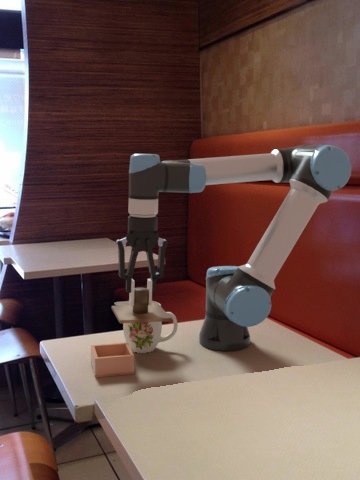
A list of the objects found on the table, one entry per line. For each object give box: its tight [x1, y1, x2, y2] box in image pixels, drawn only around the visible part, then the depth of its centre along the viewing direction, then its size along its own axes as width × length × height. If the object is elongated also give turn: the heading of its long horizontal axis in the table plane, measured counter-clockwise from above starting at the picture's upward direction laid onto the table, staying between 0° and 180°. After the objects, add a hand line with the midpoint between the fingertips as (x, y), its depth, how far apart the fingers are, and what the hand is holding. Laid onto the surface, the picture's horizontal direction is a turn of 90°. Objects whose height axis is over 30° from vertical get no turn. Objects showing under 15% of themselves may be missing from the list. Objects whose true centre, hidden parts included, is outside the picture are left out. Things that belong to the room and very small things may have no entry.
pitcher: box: [114, 300, 178, 354], centre depth 169 cm, size 11×18×14 cm, turn 92°
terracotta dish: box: [90, 342, 135, 378], centre depth 155 cm, size 10×10×5 cm
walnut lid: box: [111, 287, 172, 324], centre depth 153 cm, size 13×13×7 cm
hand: (140, 304), depth 154 cm, fingers closed on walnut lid, 4 cm apart
